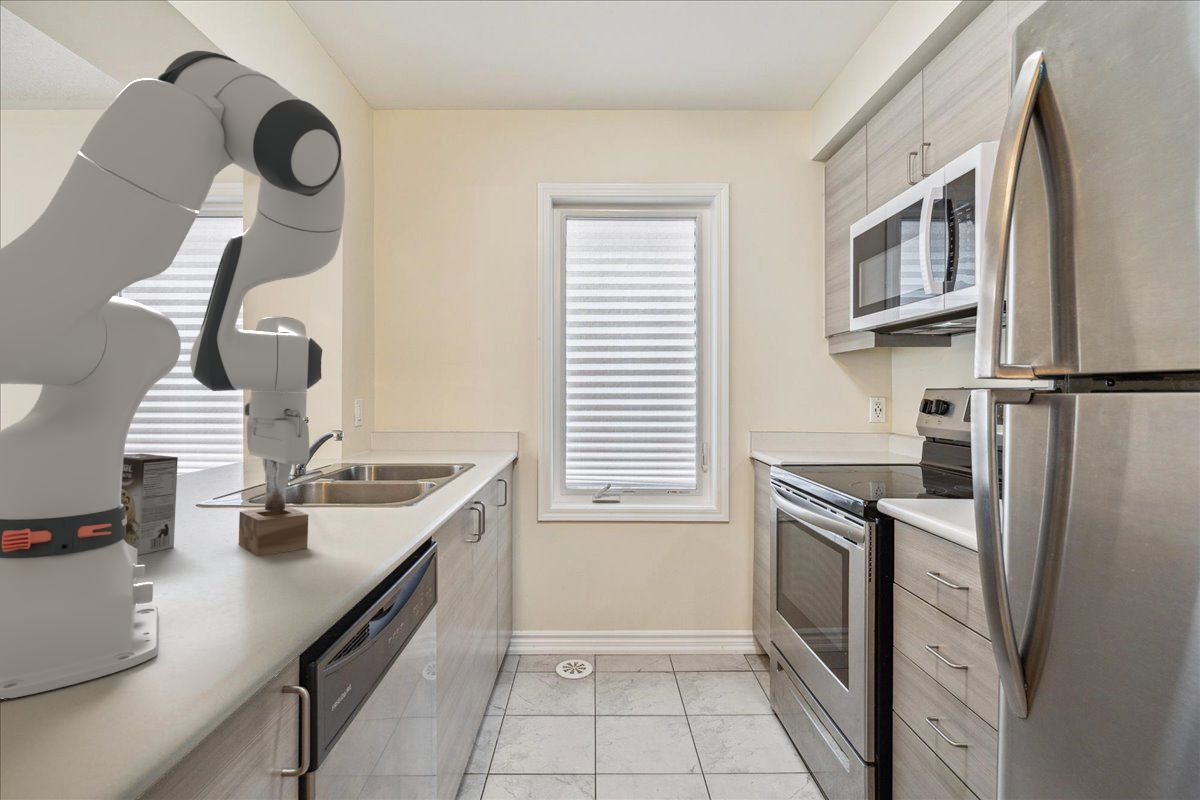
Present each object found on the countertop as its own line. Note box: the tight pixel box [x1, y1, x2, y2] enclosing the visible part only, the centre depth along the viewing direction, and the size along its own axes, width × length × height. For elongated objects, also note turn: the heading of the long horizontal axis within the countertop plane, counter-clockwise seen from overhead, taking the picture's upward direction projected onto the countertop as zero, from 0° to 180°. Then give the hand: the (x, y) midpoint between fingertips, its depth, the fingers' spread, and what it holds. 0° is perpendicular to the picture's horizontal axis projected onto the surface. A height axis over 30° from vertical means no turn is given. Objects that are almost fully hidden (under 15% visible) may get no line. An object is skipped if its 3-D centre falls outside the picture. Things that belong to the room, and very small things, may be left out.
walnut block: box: [238, 505, 309, 557], centre depth 104 cm, size 10×8×6 cm
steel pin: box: [264, 459, 287, 511], centre depth 104 cm, size 3×3×10 cm
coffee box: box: [121, 453, 179, 556], centre depth 100 cm, size 9×6×16 cm
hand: (276, 485), depth 104 cm, fingers closed on steel pin, 3 cm apart
